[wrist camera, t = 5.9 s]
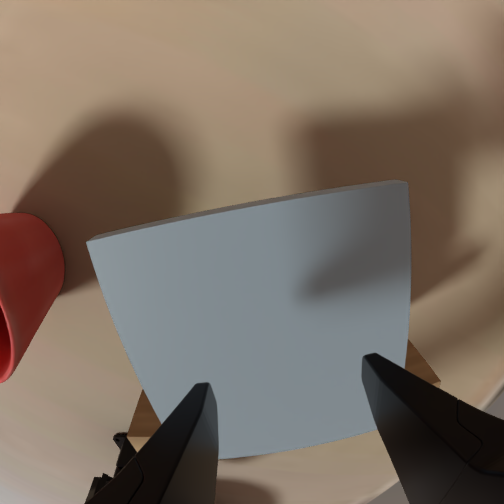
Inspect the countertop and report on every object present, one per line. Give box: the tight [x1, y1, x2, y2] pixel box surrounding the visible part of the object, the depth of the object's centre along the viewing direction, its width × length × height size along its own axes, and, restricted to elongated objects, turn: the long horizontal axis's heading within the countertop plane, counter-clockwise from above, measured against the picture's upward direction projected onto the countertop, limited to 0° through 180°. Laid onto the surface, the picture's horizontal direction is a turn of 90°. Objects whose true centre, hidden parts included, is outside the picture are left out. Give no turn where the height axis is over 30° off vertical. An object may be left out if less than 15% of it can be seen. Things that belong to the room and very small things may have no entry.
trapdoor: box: [86, 179, 411, 459], centre depth 14 cm, size 13×12×3 cm
